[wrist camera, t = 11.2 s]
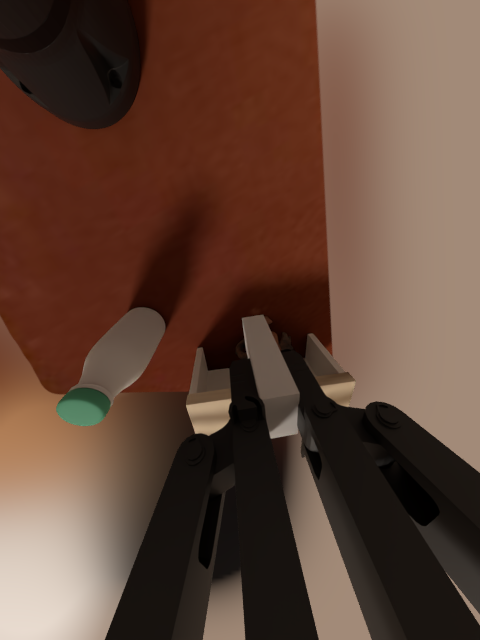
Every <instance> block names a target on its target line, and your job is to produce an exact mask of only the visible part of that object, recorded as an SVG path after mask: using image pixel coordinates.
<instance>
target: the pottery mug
mask: <svg viewBox="0 0 480 640" xmlns="http://www.w3.org/2000/svg"><path fill="white" fill-rule="evenodd" d="M264 317H265V320H266V322H267V324H272V321H271V320H270V319H269V318H268V317H267V316H264ZM272 335H273V337H274V339H275V341H276V343H277V345H278V348H279V350H280V352H287V351H293V347H292V346H291V336H289V337H288V336H287V333H284V332H282V338H281V341H280V342H279V341H278V337H277V334H276V333H275V332H272ZM244 347H246V346H245V338H244V339H243V340H241V341H240V342H239V343H238V344H237V346H236V349H235V353H236V354H237V355H238V357H239V358H240V359H248V356H247V352H242V350H243V348H244Z"/></svg>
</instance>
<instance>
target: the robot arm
mask: <svg viewBox="0 0 480 640" xmlns="http://www.w3.org/2000/svg"><path fill="white" fill-rule="evenodd" d="M0 68H1V69H2V71H3V72H4V73H5V74H6V75H7V76H8V77H9V78H10V80H11V81H12V82H13V83H14V84H15V85H16V86H17V87H18V88H19V89H20V90H22V91H23V92H24V93H25V94H26V95H27V96H28V97H29V98H31V99H32V100H33V101H34V102H36V103H37V104H38V105H40V106H41V107H43V108H44V109H46V110H47V111H49V112H50V113H52V114H53V115H55V116H56V117H58V118H60V119H62V120H63V121H65V122H67V123H70V124H72V125H75V126H78V127H82V128H87V129H100V128H105V127H108V126H111V125H113V124H115V123H116V122H118V121H119V120H120V119H121V118H122V117H123V116H124V115H125V114H126V113H127V112H128V110H129V109H130V107H131V105H132V103H133V101H134V99H135V96H136V92H137V89H138V84H139V77H140V51H139V43H138V37H137V31H136V27H135V23H134V19H133V16H132V13H131V10H130V7H129V4H128V1H127V0H0ZM242 323H243V331H244V338H245V346H246V352H247V356H248V359H242V360H236V361H232V363H231V365H230V368H229V372H230V387H231V401H232V402H231V403H230V405H229V411H228V413H229V417H230V420H229V421H228V423H227V424H226V425H225V426H224V427H223V428H221V429H220V430H218V431H216V432H215V433H213V434H211V435H209V436H208V435H206V434H203V433H198V434H193V435H191V436H190V437H188V438H187V439H186V440H185V441H184V442H183V443H182V444H181V446H180V447H179V449H178V451H177V453H176V456H175V458H174V461H173V464H172V466H171V469H170V471H169V474H168V476H167V479H166V482H165V484H164V487H163V490H162V492H161V495H160V497H159V500H158V503H157V506H156V508H155V510H154V513H153V516H152V518H151V521H150V523H149V526H148V529H147V531H146V534H145V536H144V539H143V542H142V545H141V547H140V549H139V552H138V555H137V557H136V560H135V562H134V565H133V568H132V570H131V573H130V575H129V578H128V581H127V583H126V586H125V589H124V591H123V594H122V596H121V599H120V602H119V604H118V607H117V609H116V612H115V615H114V617H113V620H112V622H111V625H110V628H109V630H108V633H107V636H106V638H105V640H203V633H204V627H205V620H206V614H207V607H208V601H209V595H210V588H211V581H212V576H213V569H214V563H215V556H216V549H217V543H218V537H219V530H220V524H221V518H222V511H223V505H224V498H225V492H226V491H227V490H228V489H230V488H231V487H233V486H234V485H236V499H237V515H238V531H239V546H240V562H241V577H242V593H243V609H244V624H245V640H319V639H318V635H317V630H316V626H315V622H314V618H313V614H312V610H311V605H310V601H309V597H308V593H307V589H306V584H305V580H304V576H303V572H302V568H301V563H300V559H299V555H298V551H297V547H296V542H295V538H294V534H293V530H292V526H291V522H290V518H289V513H288V509H287V505H286V501H285V496H284V493H283V488H282V484H281V480H280V475H279V471H278V468H277V463H276V459H275V455H274V451H273V446H272V442H271V438H276V437H282V436H287V435H293V434H297V433H298V429H299V431H300V434H301V437H302V445H301V454H302V457H305V456H306V459H307V462H308V465H309V467H310V470H311V473H312V475H313V478H314V481H315V484H316V486H317V489H318V492H319V495H320V498H321V500H322V503H323V506H324V509H325V511H326V514H327V517H328V520H329V522H330V525H331V528H332V531H333V533H334V536H335V539H336V542H337V544H338V547H339V550H340V553H341V556H342V558H343V561H344V564H345V567H346V569H347V572H348V575H349V578H350V580H351V583H352V586H353V589H354V591H355V594H356V597H357V599H358V602H359V605H360V608H361V610H362V613H363V616H364V619H365V621H366V625H367V627H368V630H369V633H370V635H371V638H372V640H480V625H479V624H478V622H477V621H476V619H475V618H474V616H473V614H472V613H471V611H470V610H469V608H468V607H467V605H466V603H465V602H464V600H463V599H462V597H461V596H460V594H459V592H458V591H457V589H456V588H455V586H454V585H453V583H452V582H451V580H450V578H451V579H452V580H453V581H454V582H455V584H456V585H457V586H458V588H459V589H460V590H461V591H462V593H463V594H464V595H465V596H466V598H467V599H468V600H469V601H470V603H471V604H472V605H473V606H474V608H475V609H476V610H477V611H478V612H479V614H480V473H479V472H478V471H476V470H475V469H474V468H473V467H471V466H470V465H469V464H468V463H466V462H465V461H464V460H463V459H461V458H460V457H459V456H458V455H456V454H455V453H454V452H453V451H451V450H450V449H449V448H448V447H446V446H445V445H444V444H443V443H441V442H440V441H439V440H437V439H436V438H435V437H434V436H432V435H431V434H430V433H429V432H427V431H426V430H425V429H424V428H422V427H421V426H420V425H419V424H417V423H416V422H415V421H413V420H412V419H411V418H409V417H408V416H407V415H406V414H405V413H403V412H402V411H401V410H399V409H398V408H396V407H394V406H392V405H390V404H387V403H384V402H373V403H370V404H369V405H367V406H366V409H359V408H352V407H346V406H342V405H339V404H337V403H336V402H335V401H334V400H332V399H331V398H329V397H327V396H326V395H325V393H324V392H323V390H322V388H321V387H320V385H319V384H318V382H317V380H316V379H315V377H314V375H313V374H312V372H311V370H310V369H309V367H308V365H307V364H306V362H305V360H304V359H303V357H302V356H301V355H300V354H299V353H297V352H296V351H295V350H293V351H287V352H280V350H279V348H278V345H277V343H276V341H275V339H274V337H273V335H272V332H271V330H270V328H269V326H268V324H267V322H266V320H265V317H264V315H257V316H251V317H245V318H242ZM444 570H445V571H446V572H445V571H444ZM446 573H447V574H448V575H449V576H450V578H449V577H448V575H447V574H446Z"/></svg>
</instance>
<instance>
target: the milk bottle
mask: <svg viewBox="0 0 480 640" xmlns="http://www.w3.org/2000/svg"><path fill="white" fill-rule="evenodd" d="M164 332H165V322H164V320H163V318H162V316H161V315H160V314H159V313H157V312H156V311H154V310H152V309H150V308H145V307H139V308H134V309H132V310H130V311H129V312H128V313H127V314H126V315H124V316H123V317H122V318H121V319H120V320H119V321H118V322H117V323H116V324H115V325H114V326H113V327H112V328H111V329H110V330H109V331H108V332H107V333H106V334H105V335H104V336H103V337H102V338H101V339H100V340H99V341H98V342H97V343H96V344H95V345H94V347H93V348H92V349H91V351H90V352H89V354H88V356H87V358H86V360H85V363H84V368H83V373H82V377H81V379H80V381H79V383H78V385H75V386H74V387H72V388H71V389H70V391H69V392H68V393H67V394H66V395H65V396H64V397H63V398H62V399H61V400H60V401H59V403H58V405H57V408H56V411H57V413H58V415H59V416H60V417H61V418H62V419H63V420H65V421H66V422H69V423H71V424H74V425H79V426H90V425H95V424H97V423H99V422H101V421H102V420H103V419H104V417H105V416H106V414H107V413H108V411H109V409H110V407H111V406H112V404H113V401H114V397H115V396H116V395H117V394H118V393H120V392H121V391H122V390H123V389H125V388H126V387H128V386H129V385H131V384H132V383H134V382H135V381H136V380H137V379H138V378H139V377H140V376H141V374H142V373H143V372H144V370H145V368H146V367H147V365H148V363H149V362H150V360H151V358H152V356H153V354H154V352H155V350H156V348H157V346H158V344H159V342H160V340H161V338H162V336H163V334H164Z"/></svg>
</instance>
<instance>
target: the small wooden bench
mask: <svg viewBox="0 0 480 640" xmlns="http://www.w3.org/2000/svg"><path fill="white" fill-rule="evenodd" d="M303 359H304V360H305V362H306V364H307V365H308V367H309V369H310V370H311V372H312V374H313V375H314V377H315V379H316V380H317V382H318V384H319V385H320V387H321V388H322V390H323V392H324V393H325V395H326V396H327V397H329V398H331V399H332V400H334V401H335V402H336V403H337V404H339V405H342V406H346V407H349V403H350V400H351V396H352V393H353V390H354V386H355V383H356V381H355V379H354V378H353V377H352V376H351V375H350V374H349V373H348V372H345V371H344V370H343V369H342V367H341V366H340V365H339V364H338V362H337V361H336V360H335V359H334V358H333V357H332V355H331V354H330V353H329V352H328V351H327V349H326V348H325V347H324V346H323V345H322V344H321V342H320V341H319V340H318V339H317V338H316V337H315V335H314V334H313V333H311V334H308V335H307V345H306V355H305V358H303ZM231 402H232V401H231V387H230V372H229V368H226V369H218V370H211V371H208V368H207V364H206V360H205V355H204V351H203V347H202V348H197V353H196V358H195V364H194V370H193V375H192V381H191V386H190V392H189V394H188V397H187V402H186V407H187V410H188V413H189V416H190V419H191V422H192V424H193V427H194V430H195V433H196V434H198V433H203V434H206V435H208V436H209V435H211V434H213V433H215V432H216V431H218V430H220V429H221V428H223V427H224V426H225V425H226V424H227V423H228V421H229V420H230V417H229V413H228V411H229V405H230V403H231Z"/></svg>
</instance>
